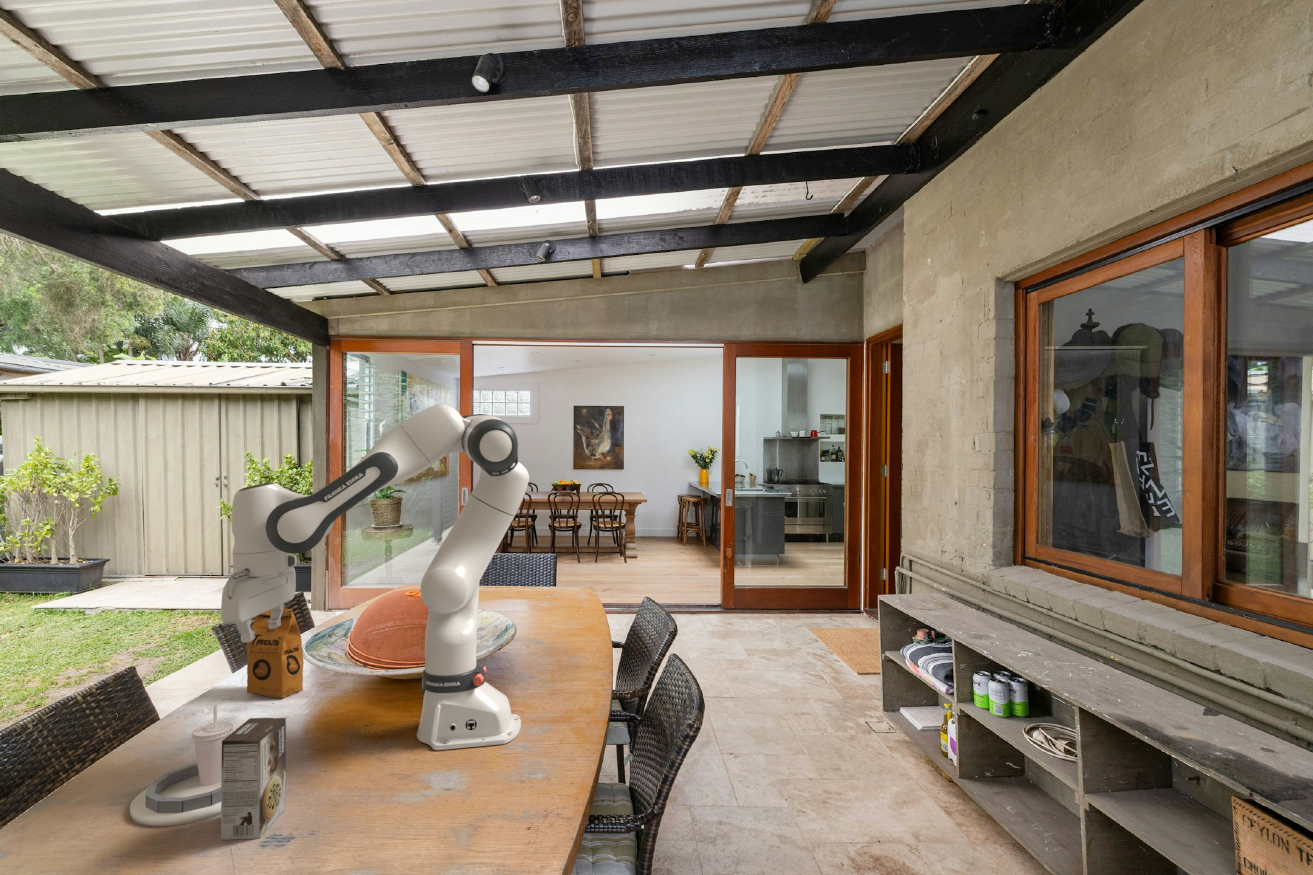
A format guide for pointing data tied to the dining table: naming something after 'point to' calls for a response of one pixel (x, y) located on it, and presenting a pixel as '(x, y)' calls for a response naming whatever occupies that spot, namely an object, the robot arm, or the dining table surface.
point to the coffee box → (253, 778)
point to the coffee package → (275, 657)
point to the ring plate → (176, 799)
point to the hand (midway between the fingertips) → (261, 634)
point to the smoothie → (210, 749)
